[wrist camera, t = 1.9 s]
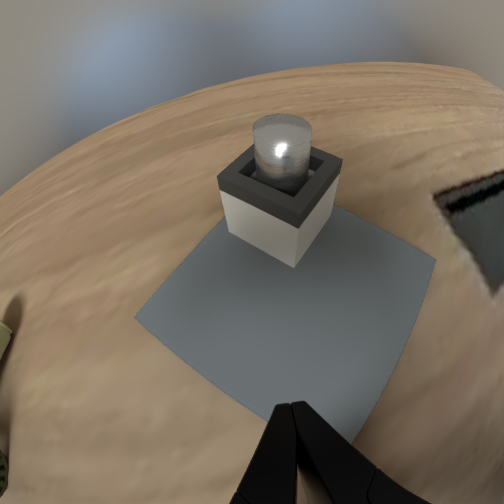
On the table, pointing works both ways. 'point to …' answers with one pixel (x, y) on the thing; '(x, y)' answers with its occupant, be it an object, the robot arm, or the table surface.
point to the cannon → (0, 466)
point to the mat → (295, 318)
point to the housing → (279, 205)
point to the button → (282, 152)
